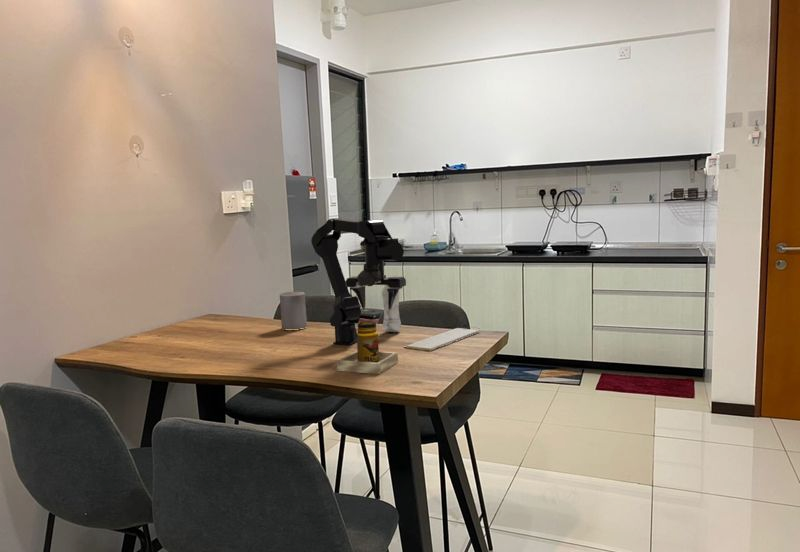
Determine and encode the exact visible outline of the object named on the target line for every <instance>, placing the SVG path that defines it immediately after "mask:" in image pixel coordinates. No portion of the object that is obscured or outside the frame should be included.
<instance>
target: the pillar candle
mask: <svg viewBox="0 0 800 552" xmlns="http://www.w3.org/2000/svg"><path fill="white" fill-rule="evenodd" d="M279 305H280V321H281V330H282V329H300V328H305V327H308V321H307V319H308V318H307V309H306V308H307V307H306V293H305V292H303V291H289V292H288V291H287V292H282V293H280V294H279ZM305 329H306V328H305Z"/></svg>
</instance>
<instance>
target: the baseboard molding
mask: <svg viewBox="0 0 800 552" xmlns="http://www.w3.org/2000/svg"><path fill="white" fill-rule="evenodd" d="M454 327H456V325H455V324H454V325H453V326H452V327H450V328H451V329H450V330H447V331H445V332H442V333H439V334H436V335H432V336H431V337H427V338H424V339H422V340H419V341H416V342H414V343H411V344H408V345H406V346H403V347H406V348H405V349H408V348H413V349H412V350H415V349H421V350H420V351H423V350H429V351H428V352H432V351H431V350H433V349H435V350H437V349H436V348H438V347H441V346H443V345H446V344H448V345H450V344H449V343H451V342H454V341H456V340H459V339H461V340H463V339H462V338H464V339H466V338H465V337H467V336H469V337H471V336H470V335H472V334H474V335H477V334H480V330H479V329H474V328H476V327H473V326H472V328H473V329H472V328H466V327H468V324H462V327H465V328H462V327H461V328H460V327H456V328H454ZM476 331H479V332H476ZM476 333H477V334H476ZM472 336H473V335H472ZM467 338H468V337H467ZM459 341H460V340H459ZM456 342H457V341H456ZM454 343H455V342H454ZM451 344H452V343H451ZM446 346H447V345H446ZM443 347H444V346H443ZM441 348H442V347H441ZM438 349H439V348H438ZM433 351H434V350H433Z"/></svg>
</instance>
